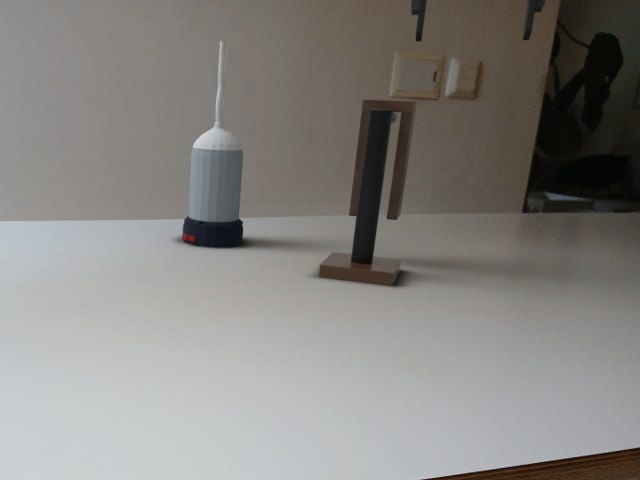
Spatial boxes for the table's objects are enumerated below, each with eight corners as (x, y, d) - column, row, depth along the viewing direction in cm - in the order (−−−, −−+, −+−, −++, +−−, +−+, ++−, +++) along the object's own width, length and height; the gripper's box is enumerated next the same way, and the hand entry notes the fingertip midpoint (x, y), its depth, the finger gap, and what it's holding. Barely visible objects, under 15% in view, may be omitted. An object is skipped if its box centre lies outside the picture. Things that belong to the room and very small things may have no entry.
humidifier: (174, 244, 98) (183, 38, 89) (191, 234, 105) (201, 43, 96) (234, 250, 95) (249, 39, 87) (248, 239, 103) (262, 44, 94)
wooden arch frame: (400, 215, 90) (416, 101, 86) (396, 220, 87) (414, 101, 82) (353, 211, 92) (367, 99, 88) (348, 215, 89) (362, 99, 84)
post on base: (404, 261, 93) (427, 109, 87) (391, 286, 80) (417, 111, 74) (340, 253, 96) (357, 106, 89) (318, 277, 83) (337, 108, 77)
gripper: (590, -112, 99) (569, 47, 99) (396, -98, 107) (377, 48, 107) (605, -150, 92) (581, 21, 92) (395, -132, 100) (375, 25, 100)
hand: (471, 36), depth 100 cm, fingers open, 13 cm apart
